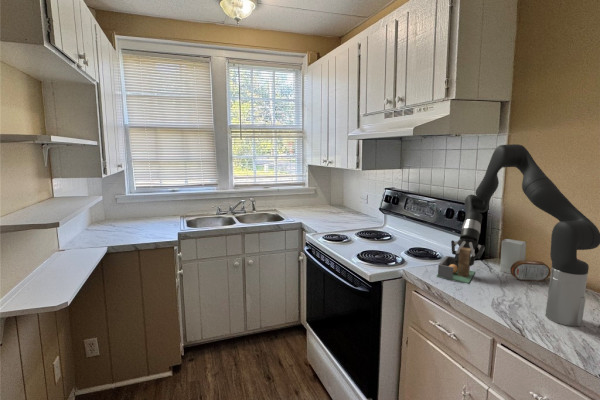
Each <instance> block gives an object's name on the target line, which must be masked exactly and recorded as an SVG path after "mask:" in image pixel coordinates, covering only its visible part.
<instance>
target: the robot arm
mask: <svg viewBox="0 0 600 400" xmlns="http://www.w3.org/2000/svg"><path fill="white" fill-rule="evenodd" d="M503 168H517V169H518V170H519V172H520V173H521V175H523V176H522V177H523V178H522V182H521V189H522V192H523V193H524V196H526V197H527V199H528V200H529V201H530V203H532V205H534V207H536V208H538V209H539V210H541V211H543V212H544V213H547V214H548V215H550V216H552V217H553V218H555V219H556V220H558V221H559V222H557V223H556V224H555V225H554V226H553V228H552V231H551V237H550V238H551V239H550V260H551V268H550V274H549V285H548V292H547V299H546V300H547V301H546V308H545V314H544V315H545V317H546V318H547V319H548V320H550V321H551V322H554V323H557V324H561V325H565V326H569V327H579V328H580V327H581V328H582V325H583V318H584V311H585V304H586V297H585V296H586V295H585V294H586V289H587V282H588V277H589V276H588V275H589V267H590V266H589V264H588V263H587V262H585V261H583V260H581V259H578V256H577V255H578V251H588V250H593V249H597V248H598V247H599V246H600V230H599V228H598V227H597V226H596V224H595V223H594V222H592V220H590V219H589V218H588V217H587V216H586V215H584V214H583V212H581V211H580V210H579V209H578V208H577V207H576V206H575V205H574V204H573V203H572V202H571V201H570V200H569V198H567V197H566V196H565V195H564V194H563V193H562V191H561V190H560V189H559V188H558V187H557V185H556V184H555V183H554V182H553V181H552V180H551V179H550V178H549V177H548V176H547V175H546V173H545V172H544V171H543V169H541V167H540V166H539V165H538V164H537V162H536V161H535V159H534V158H533V156H532V155H531V153H530V152H529V150H528V149H527V147H525V146H524V145H521V144H517V143H516V144H514V143H513V144H501V145H498V146H497V147H496V148H495V149H494V151H493V153H492V154H491V157H490V160H489V163H488V165H487V167H486V171H485V173H484V176H483V178H482V180H481V181H480V183H479V185H478V186H477V188H476V189H475V192H474V193H475V194H469V195H467V196H466V197H465V199H464V208H465V218H464V221H463V224H462V227H461V231H460V235H459V239H458V240H457V241H455V240H451V242H450V243H451V244H450V245H451V253H452V255H455V256H454V257H455V259H454V260H455V262H456V263H457V264H458V260H459V252H460V248H461V247H464V248H470V249H471V259H470V267H472V266H474V265H475V261H476V259H478V260H479V259H481V257H482V255H483V254H484V251H485V247H486V246H485V245H484V244H482V245H481V244H479V238H480V235H481V225H482V221H483V215H482V213H485V212H487V211H488V209H489V207H490V203H491V202H490V201H491V199H492V197H493V196H494V194H495V193H496V191H497V189H498V187H499V184H500V183H499V176H498V173H499V172H500V170H501V169H503ZM457 245H458V246H459V247H458V248H457V250H456V247H457ZM476 249H478V252H477V253H475V250H476Z"/></svg>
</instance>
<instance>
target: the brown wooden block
mask: <svg viewBox="0 0 600 400" xmlns="http://www.w3.org/2000/svg"><path fill="white" fill-rule="evenodd" d="M471 257H472V255H471V249H470V248H464V247H461V248H460V252H459V264H458V276H463V277H468V276H469V271H471V269H470V267H471V266H470V259H471Z"/></svg>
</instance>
